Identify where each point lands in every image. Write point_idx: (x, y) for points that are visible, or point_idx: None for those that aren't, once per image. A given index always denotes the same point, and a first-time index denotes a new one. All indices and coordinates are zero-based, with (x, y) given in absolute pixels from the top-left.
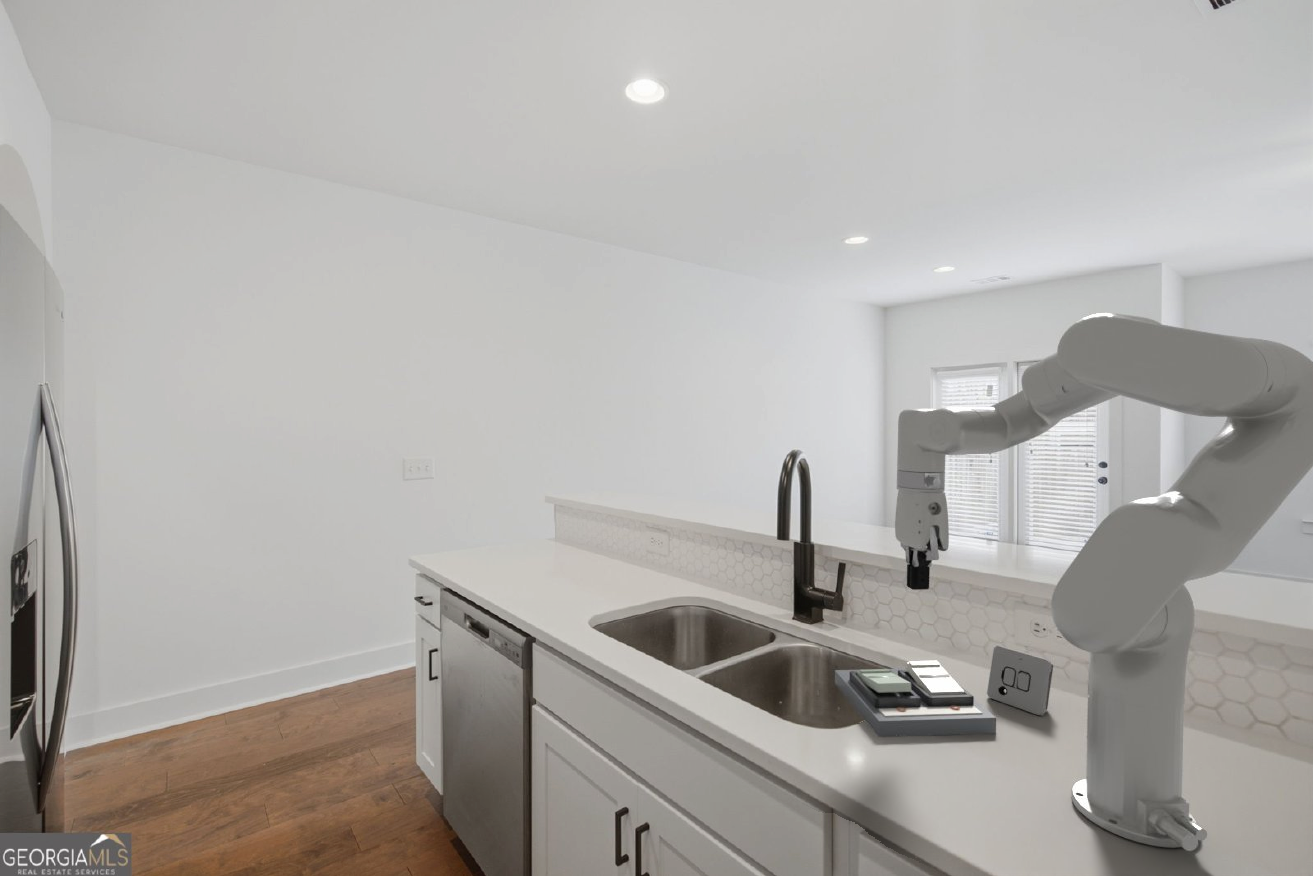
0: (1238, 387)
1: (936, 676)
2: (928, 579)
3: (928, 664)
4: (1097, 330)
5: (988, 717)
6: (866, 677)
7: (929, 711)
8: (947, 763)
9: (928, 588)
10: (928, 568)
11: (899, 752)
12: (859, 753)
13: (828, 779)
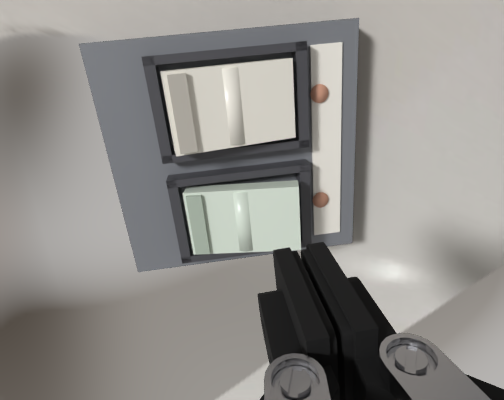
0: None
1: (239, 104)
2: (339, 271)
3: (190, 107)
4: None
5: (357, 36)
6: (242, 252)
7: (329, 151)
8: (425, 157)
9: (323, 243)
10: (369, 321)
11: (387, 214)
12: (382, 265)
13: (431, 307)
